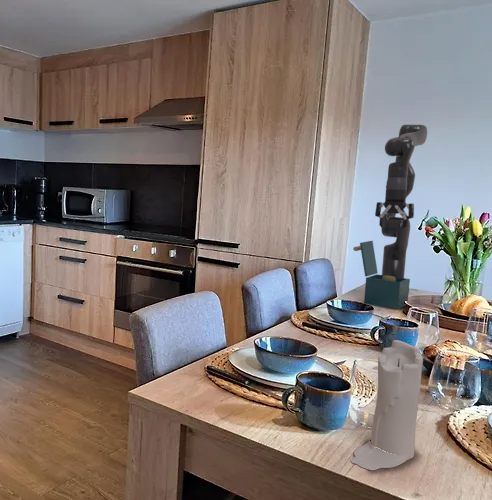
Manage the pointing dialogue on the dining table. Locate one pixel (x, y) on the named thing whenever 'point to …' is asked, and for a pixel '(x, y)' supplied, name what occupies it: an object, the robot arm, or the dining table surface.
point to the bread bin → (386, 292)
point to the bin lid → (368, 257)
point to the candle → (394, 408)
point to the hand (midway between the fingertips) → (392, 228)
